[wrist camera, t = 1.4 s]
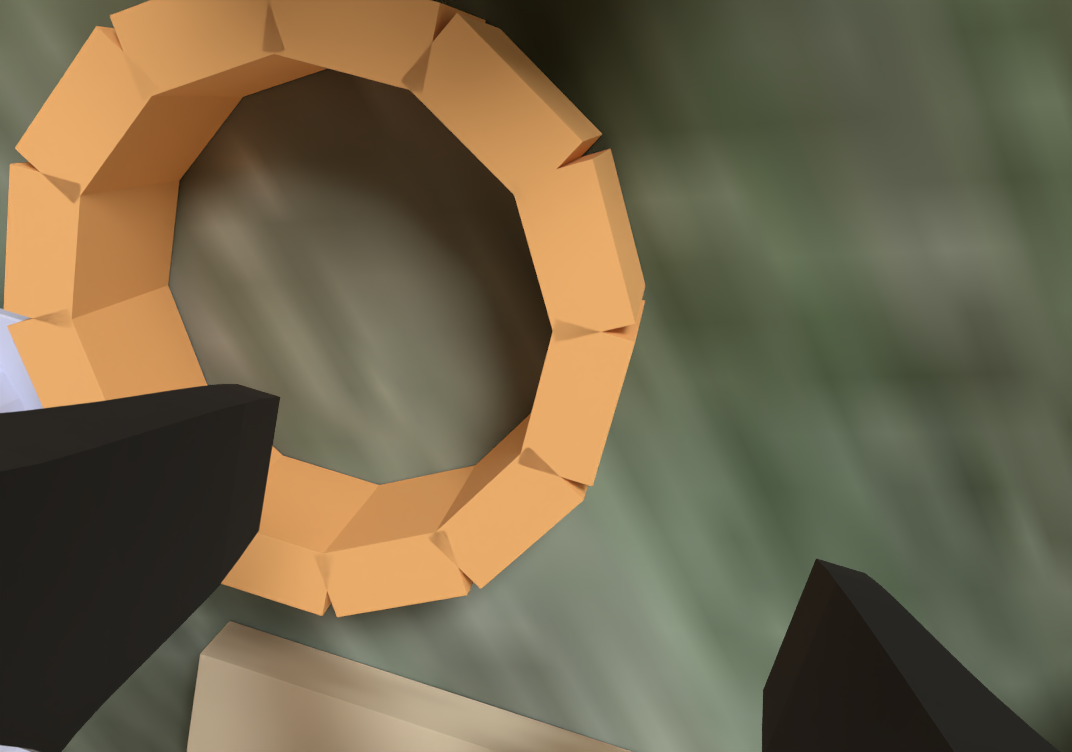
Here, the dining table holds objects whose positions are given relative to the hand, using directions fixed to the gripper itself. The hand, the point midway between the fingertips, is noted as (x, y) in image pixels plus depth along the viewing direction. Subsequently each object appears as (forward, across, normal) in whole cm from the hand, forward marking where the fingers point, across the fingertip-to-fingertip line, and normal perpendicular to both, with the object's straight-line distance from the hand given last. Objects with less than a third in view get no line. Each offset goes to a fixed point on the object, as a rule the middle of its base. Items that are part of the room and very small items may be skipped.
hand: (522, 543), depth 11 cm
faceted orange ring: (+9, +6, 0) cm, 11 cm away
